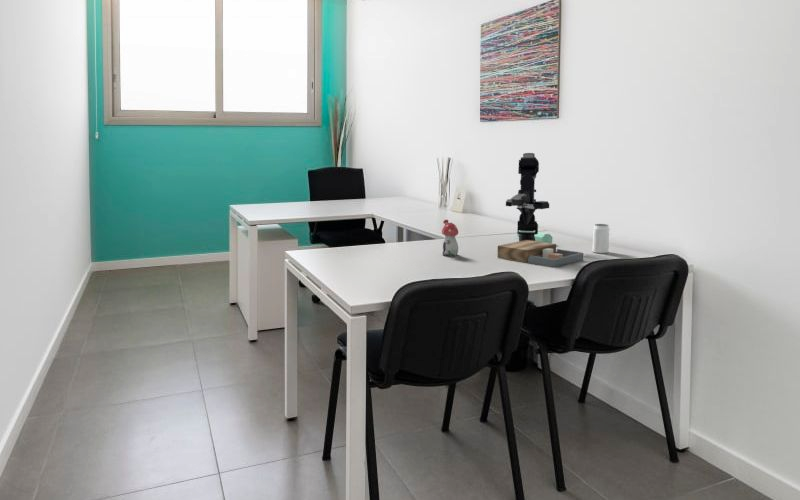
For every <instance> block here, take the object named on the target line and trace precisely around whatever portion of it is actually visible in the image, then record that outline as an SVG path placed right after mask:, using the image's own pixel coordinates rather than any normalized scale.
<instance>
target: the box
mask: <svg viewBox="0 0 800 500" xmlns="http://www.w3.org/2000/svg"><path fill="white" fill-rule="evenodd" d="M553 253H558V254H563V257H562V258H558V259H549V258H543V254H542V255H538V256H531V255H529V258H528V262H527V263H529V264H532V265H538V266H539V265H540V266H544V267H550V268H557V267H562V266H565V265H569V264H573V263H576V262H581V261H583V260H584V252H581V251H573V250H569V249H568V250H566V249H560V248H556V251H555V252H553Z"/></svg>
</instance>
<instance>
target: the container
mask: <svg viewBox="0 0 800 500" xmlns="http://www.w3.org/2000/svg"><path fill="white" fill-rule="evenodd" d="M519 231H520V230H519ZM530 232H535V231H530ZM516 236H517V237H518V238H519V234H517V233H516ZM534 237H535V241H538V242H545V243H552V244H553V236H552V234H551V233H543V232H539V231H538V234H536V235H535V236H534Z"/></svg>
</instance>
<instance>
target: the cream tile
mask: <svg viewBox="0 0 800 500" xmlns="http://www.w3.org/2000/svg"><path fill="white" fill-rule="evenodd" d="M552 253H553V249H550V248H547V249H543V258H548V254H552Z"/></svg>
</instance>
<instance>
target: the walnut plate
mask: <svg viewBox="0 0 800 500" xmlns="http://www.w3.org/2000/svg"><path fill="white" fill-rule="evenodd" d="M547 248H550V249H553V252H555V251H557V244H556V243H553V242H552V243H545V242H538V241H531V240H524V241H519V240H518V241H515V242H511V243H505V244H504V243H503V244H499V245H497V258H499V259H504V260H510V261H515V262H522V263H528V258H529V255H531V256H538V255H542V254H543V249H547Z"/></svg>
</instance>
